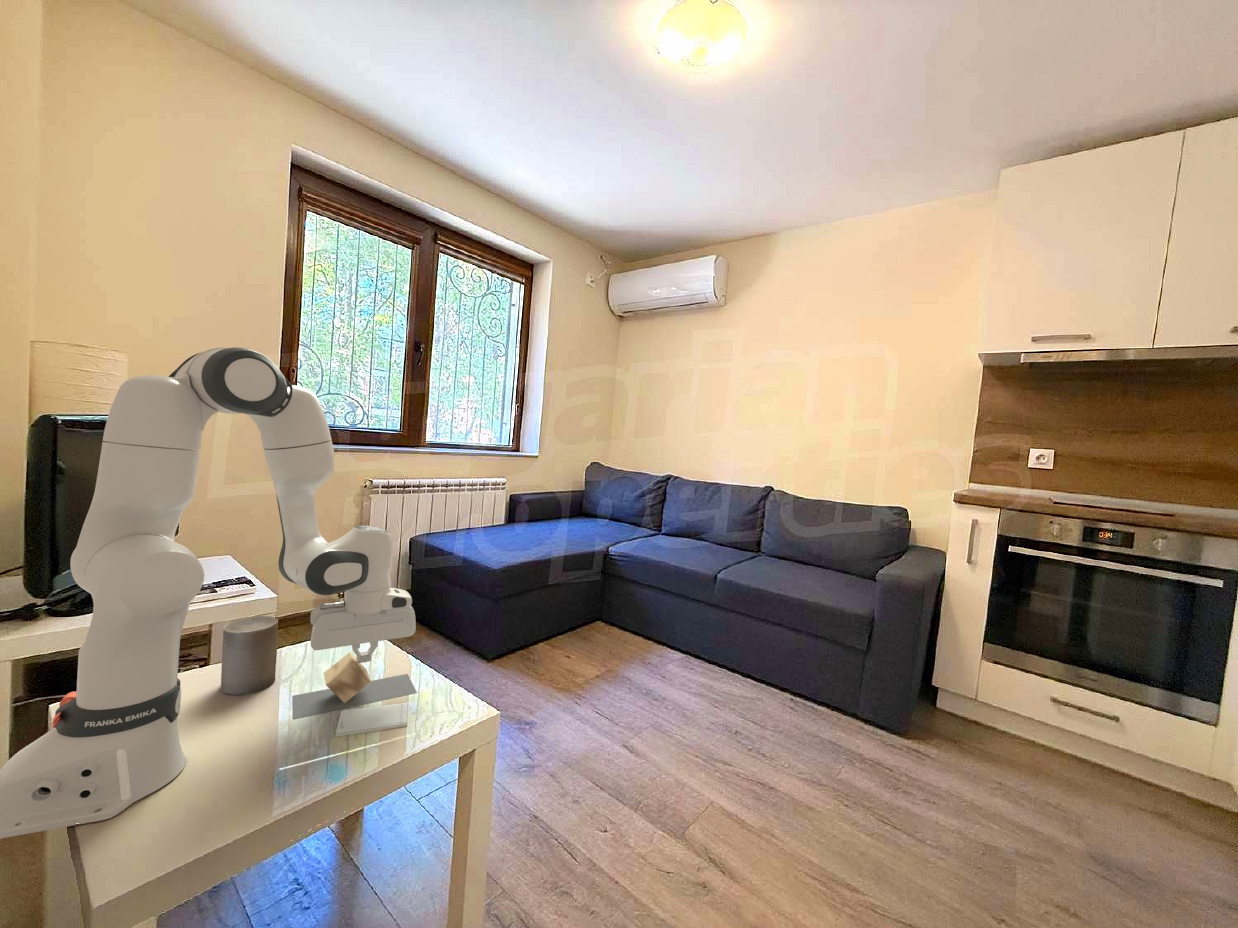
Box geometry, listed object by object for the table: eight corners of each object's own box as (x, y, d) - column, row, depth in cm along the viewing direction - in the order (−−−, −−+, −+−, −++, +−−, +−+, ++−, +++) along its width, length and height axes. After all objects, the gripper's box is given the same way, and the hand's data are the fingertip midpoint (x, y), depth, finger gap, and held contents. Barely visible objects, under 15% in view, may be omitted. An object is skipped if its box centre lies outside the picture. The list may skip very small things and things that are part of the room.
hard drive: (335, 732, 89) (407, 721, 94) (341, 709, 96) (407, 700, 101) (334, 741, 89) (406, 730, 94) (340, 717, 96) (407, 708, 101)
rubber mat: (292, 720, 93) (292, 719, 93) (292, 696, 101) (292, 695, 101) (416, 693, 106) (417, 692, 106) (407, 674, 114) (407, 673, 114)
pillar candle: (276, 670, 111) (279, 607, 111) (274, 689, 103) (277, 621, 103) (223, 679, 106) (226, 613, 106) (216, 700, 98) (219, 628, 97)
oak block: (371, 681, 102) (344, 703, 100) (366, 669, 107) (341, 690, 105) (353, 662, 100) (325, 685, 97) (349, 652, 105) (323, 672, 102)
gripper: (311, 609, 95) (307, 677, 95) (419, 598, 107) (415, 658, 107) (310, 600, 100) (306, 664, 101) (413, 590, 112) (409, 647, 112)
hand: (363, 661), depth 104 cm, fingers closed
